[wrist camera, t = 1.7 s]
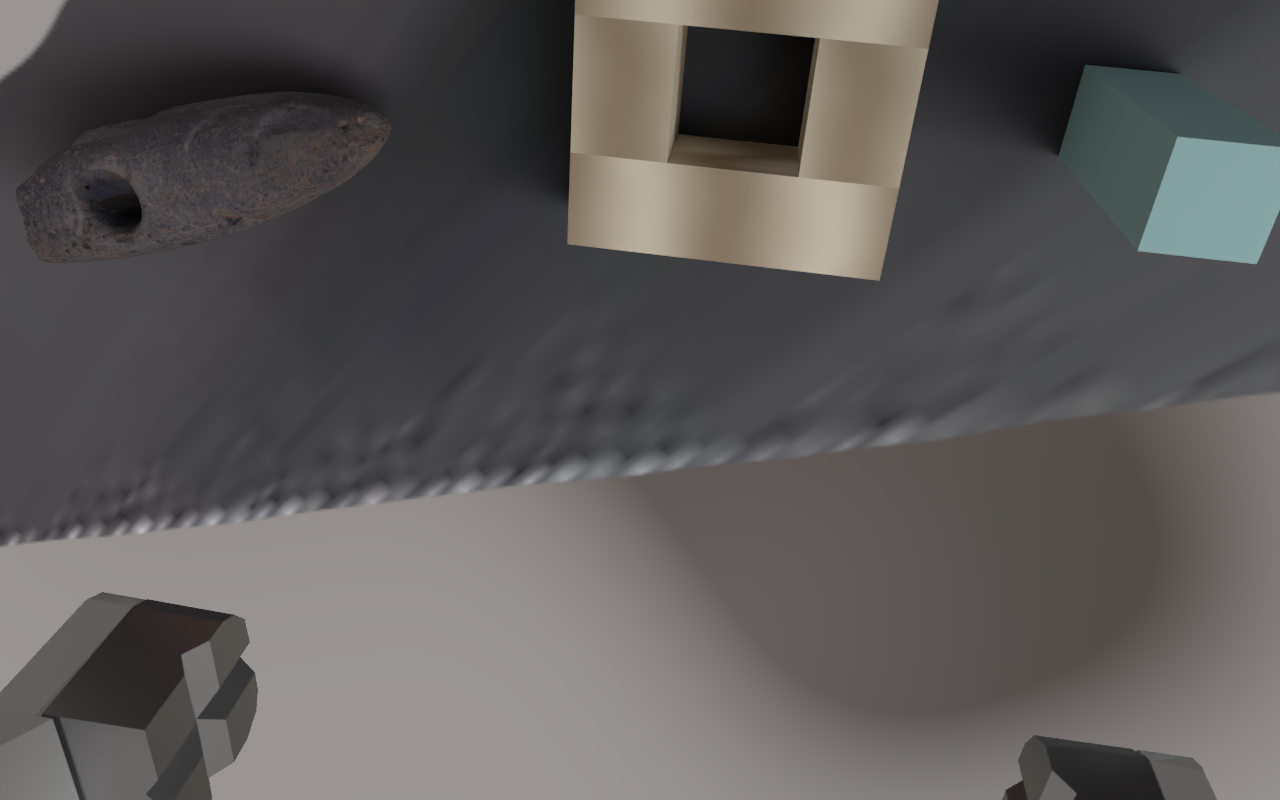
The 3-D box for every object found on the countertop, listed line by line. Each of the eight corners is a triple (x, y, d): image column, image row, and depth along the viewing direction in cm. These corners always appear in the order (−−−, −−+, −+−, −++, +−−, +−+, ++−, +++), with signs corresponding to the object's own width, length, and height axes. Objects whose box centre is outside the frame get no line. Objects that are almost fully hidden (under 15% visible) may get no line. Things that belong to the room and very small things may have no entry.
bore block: (937, -81, 34) (953, -71, 31) (872, 242, 40) (879, 280, 37) (599, -110, 35) (578, -103, 32) (586, 210, 41) (567, 244, 38)
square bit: (1180, 73, 35) (1304, 149, 27) (1149, 165, 37) (1256, 264, 28) (1085, 64, 36) (1177, 136, 27) (1058, 155, 37) (1137, 251, 29)
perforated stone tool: (392, 48, 39) (320, 88, 33) (433, 175, 41) (373, 233, 35) (78, 118, 42) (-39, 165, 36) (134, 231, 45) (32, 293, 39)
